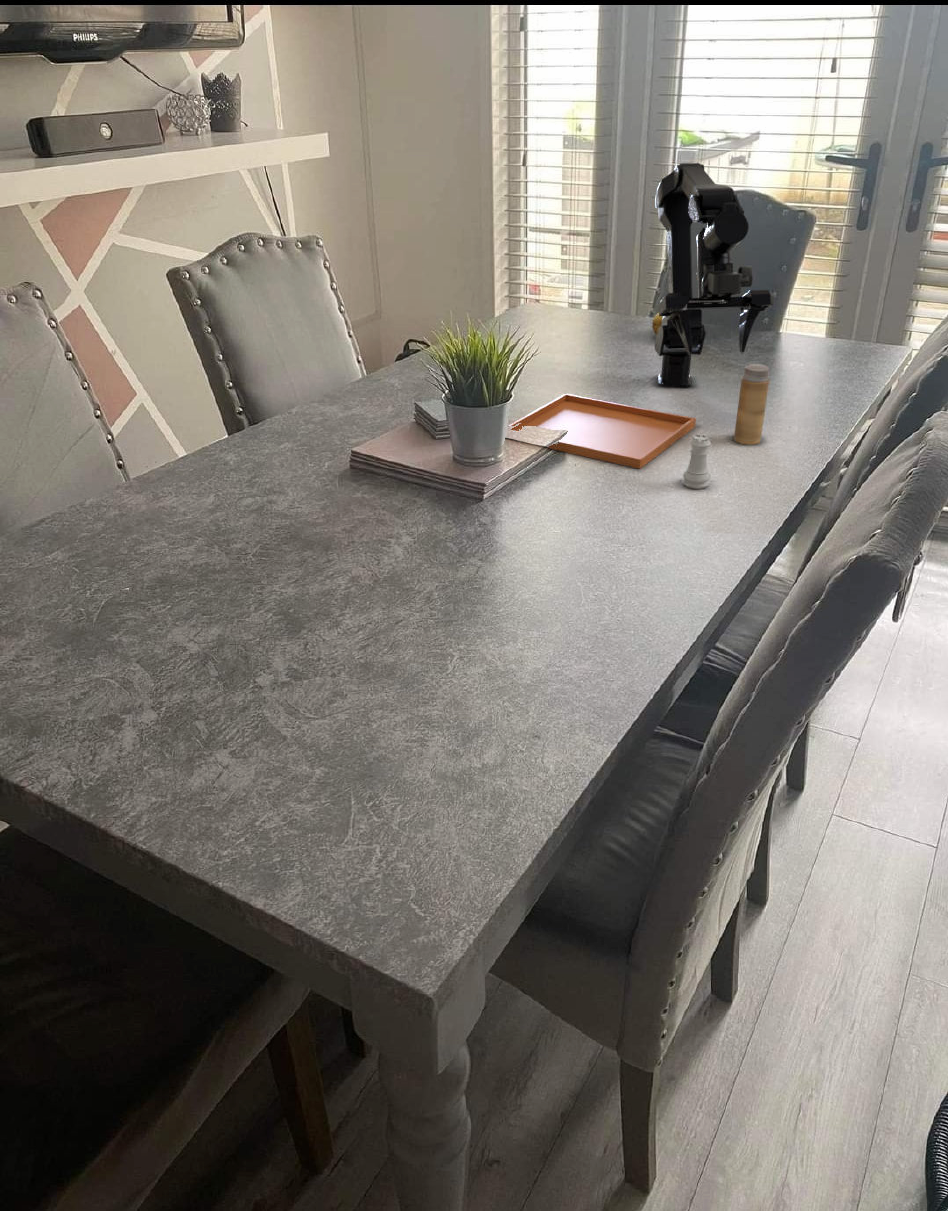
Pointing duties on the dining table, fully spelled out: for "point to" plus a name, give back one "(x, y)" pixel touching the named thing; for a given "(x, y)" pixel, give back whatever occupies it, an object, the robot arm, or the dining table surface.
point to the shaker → (752, 404)
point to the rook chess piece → (697, 464)
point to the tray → (608, 429)
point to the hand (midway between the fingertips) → (716, 353)
